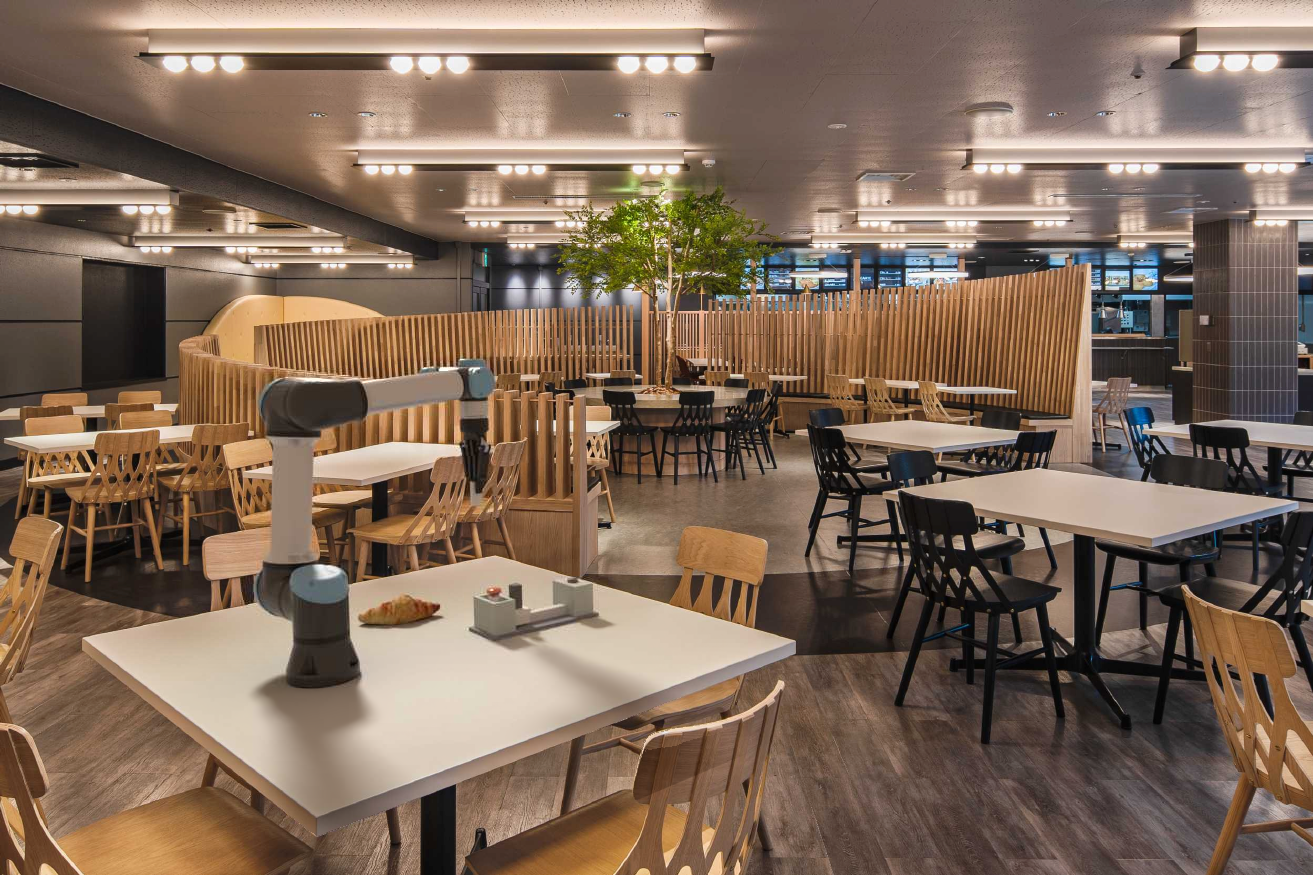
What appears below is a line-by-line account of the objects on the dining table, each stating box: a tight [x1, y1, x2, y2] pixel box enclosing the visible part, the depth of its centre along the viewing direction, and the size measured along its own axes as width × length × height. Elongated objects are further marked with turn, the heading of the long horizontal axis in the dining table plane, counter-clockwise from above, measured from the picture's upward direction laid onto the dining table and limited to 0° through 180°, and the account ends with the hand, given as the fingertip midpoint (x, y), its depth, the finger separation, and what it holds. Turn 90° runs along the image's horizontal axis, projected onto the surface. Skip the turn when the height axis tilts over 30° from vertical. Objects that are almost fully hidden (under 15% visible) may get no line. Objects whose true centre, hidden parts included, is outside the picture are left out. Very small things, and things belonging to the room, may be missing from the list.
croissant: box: [357, 594, 441, 626], centre depth 240 cm, size 21×10×8 cm
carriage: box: [508, 582, 532, 626], centre depth 232 cm, size 5×6×10 cm
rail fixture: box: [468, 576, 600, 642], centre depth 236 cm, size 32×12×10 cm, turn 131°
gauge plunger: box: [486, 587, 502, 603], centre depth 228 cm, size 4×4×9 cm
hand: (476, 505), depth 243 cm, fingers closed
